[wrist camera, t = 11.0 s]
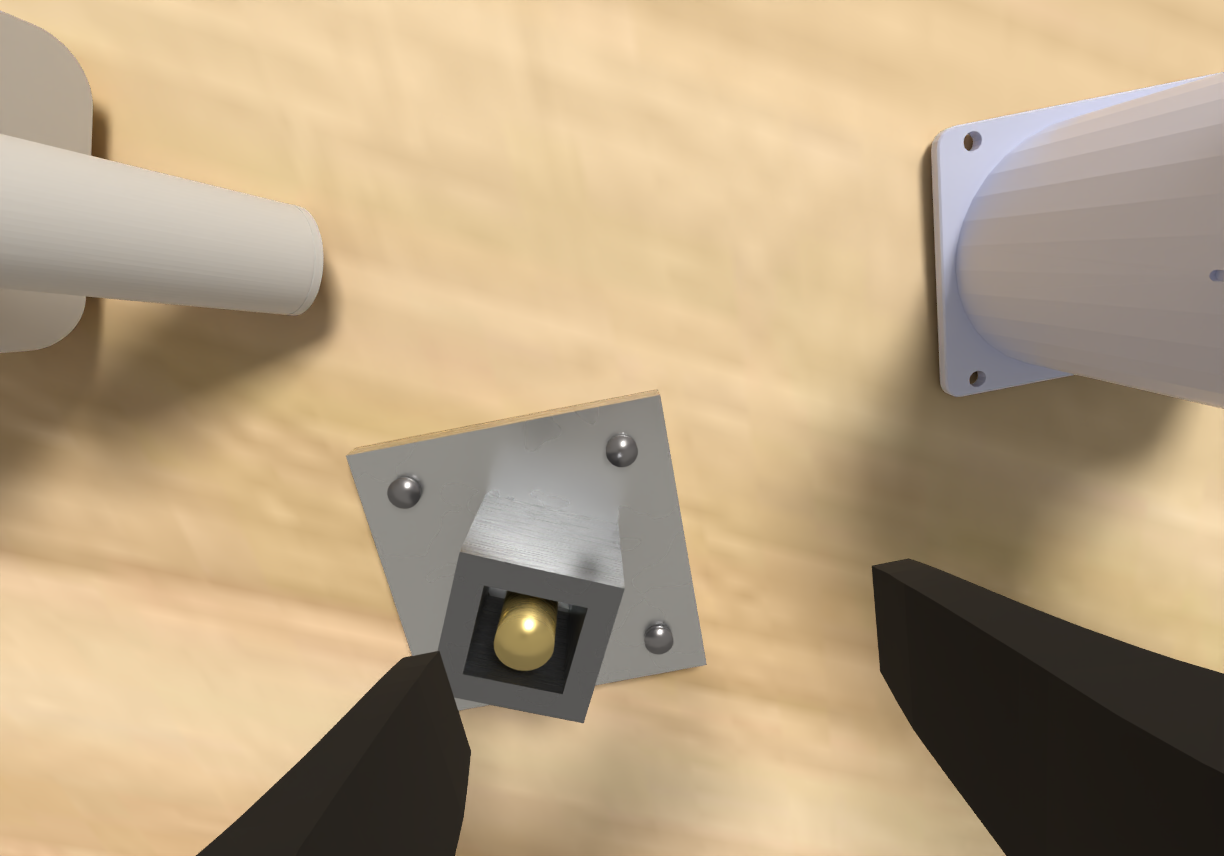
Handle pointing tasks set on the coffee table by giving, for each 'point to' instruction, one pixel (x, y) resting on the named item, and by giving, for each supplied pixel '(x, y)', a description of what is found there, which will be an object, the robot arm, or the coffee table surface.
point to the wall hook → (121, 216)
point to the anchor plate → (550, 477)
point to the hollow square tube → (542, 567)
